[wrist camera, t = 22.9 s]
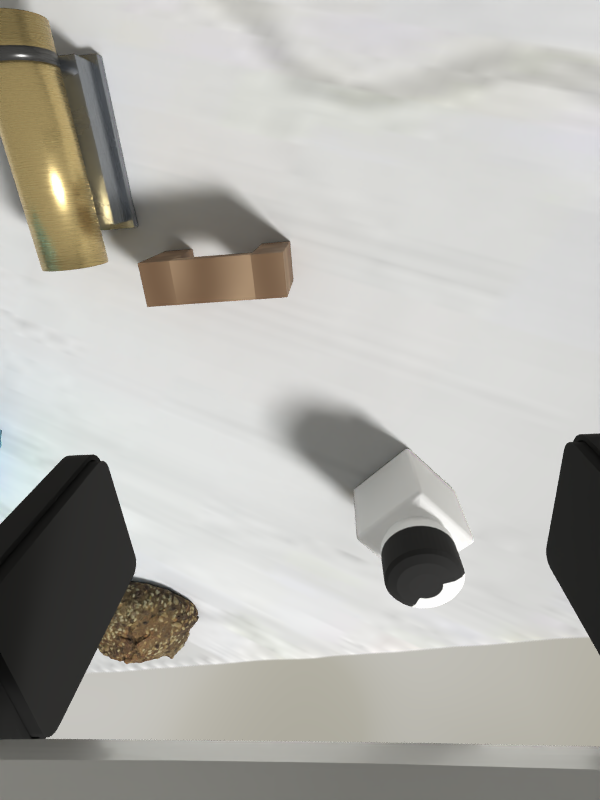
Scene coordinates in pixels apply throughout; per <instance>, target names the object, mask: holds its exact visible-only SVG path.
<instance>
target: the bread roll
mask: <svg viewBox="0 0 600 800" xmlns="http://www.w3.org/2000/svg"><path fill="white" fill-rule="evenodd" d="M197 615H198V611H197V609H196V607H195V605H194V604H193V603H191V602H190V601H188V600H186V599H185V598H183V597H181V596H179V595H176V594H174V593H172V592H171V591H169V590H168V589H164V588H160V587H156V586H153V585H150V584H147V583H140V582H130V583H129V585H128V588H127V590H126V592H125V594H124V596H123V598H122V600H121V602H120V604H119V606H118V608H117V610H116V612H115V614H114V616H113V618H112V620H111V622H110V624H109V626H108V628H107V630H106V632H105V634H104V636H103V638H102V640H101V642H100V644H99V646H98V648H99V650H100V652H101V653H102V654H103V655H105V656H109V657H110V658H111V659H115V660H118V661H124V662H125V663H126V664H128V663H135V662H136V663H142V662H144V661H149V660H152V659H158V658H160V657H162V656H168V657H170V658H171V659H173V657H174V655H175V654H177V652H178V651H179V650H181V648H182V647H183V646H184V644H185V642H186V641H187V639H188V636H189V631H190V629H191V628H192V627H193V625H194V624H195V623H196V622H197V620H198V618H199V617H198V616H197Z"/></svg>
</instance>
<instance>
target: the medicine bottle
mask: <svg viewBox="0 0 600 800" xmlns="http://www.w3.org/2000/svg"><path fill="white" fill-rule="evenodd" d="M354 505H355V518H356V532H357V539H358V540H359V541H360V542H361V543H362V544H363V545H365V546H366V547H367V548H368V549H370V550H371V551H372V552H373V553H375V554H376V555H377V556H378V557H379V558H381V559H382V566H383V574H384V581H385V586H386V588H387V590H388V592H389V593H390V594H391V595H392V596H393V597H394V598H395V599H396V600H398V601H400V602H401V603H403V604H405V605H408V606H411V607H416V608H431V607H436V606H440V605H442V604H445V603H447V602H448V601H450V600H451V599H453V598H454V597H455V596H456V595H457V594H458V592H459V591H460V590H461V588H462V586H463V584H464V580H465V572H464V568H463V565H462V562H461V560H460V557H459V554H458V552H459V551H460V550H462V549H463V548H465V547H466V546H468V545H470V544H471V543H472V542H473V541H474V538H473V536H472V533H471V531H470V528H469V526H468V523H467V521H466V518H465V516H464V513H463V511H462V508H461V506H460V503H459V501H458V498H457V496H456V493H455V491H454V490H453V489H452V488H451V487H450V486H449V485H447V484H446V483H445V482H444V481H443V480H442V479H441V478H440V477H439V476H438V475H437V474H436V473H434V472H433V471H432V470H431V469H430V468H429V467H428V466H427V465H426V464H425V463H424V462H423V461H421V460H420V459H419V458H418V457H417V456H416V455H415V454H414V453H413V452H412V451H411V450H410V449H405V450H404V451H402V452H401V453H400V454H399V455H397V456H396V457H395V458H393V459H392V460H391V461H390V462H388V463H387V464H386V465H385V466H383V467H382V468H381V469H379V470H378V471H377V472H376V473H374V474H373V475H372V476H371V477H369V478H368V479H367V480H365V481H364V482H363V483H362V484H360V485H359V486H358V487H357V488H355V489H354Z"/></svg>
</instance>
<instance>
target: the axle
mask: <svg viewBox="0 0 600 800" xmlns="http://www.w3.org/2000/svg"><path fill="white" fill-rule="evenodd" d="M0 136H1V139H2V142H3V145H4V149H5V152H6V155H7V158H8V161H9V165H10V168H11V171H12V174H13V178H14V181H15V184H16V187H17V190H18V194H19V197H20V200H21V203H22V207H23V210H24V213H25V216H26V220H27V223H28V226H29V229H30V232H31V236H32V239H33V242H34V245H35V249H36V252H37V255H38V258H39V261H40V265H41V268H42V270H43V271H64V270H73V269H80V268H86V267H92V266H96V265H100V264H104V263H107V262H108V258H107V254H106V250H105V246H104V242H103V238H102V234H101V230H100V226H99V222H98V218H97V214H96V210H95V206H94V202H93V198H92V194H91V190H90V186H89V182H88V177H87V173H86V169H85V165H84V161H83V157H82V153H81V149H80V145H79V141H78V137H77V133H76V129H75V125H74V121H73V117H72V113H71V109H70V105H69V101H68V97H67V93H66V89H65V85H64V81H63V77H62V73H61V67H60V63H59V59H58V55H57V53H56V49H55V45H54V41H53V37H52V33H51V29H50V25H49V21H48V20H47V19H46V18H45V17H43V16H41V15H39V14H36V13H33V12H29V11H24V10H18V9H9V8H0Z"/></svg>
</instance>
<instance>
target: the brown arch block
mask: <svg viewBox="0 0 600 800" xmlns="http://www.w3.org/2000/svg"><path fill="white" fill-rule="evenodd" d="M138 267H139V271H140V276H141V280H142V285H143V289H144V294H145V298H146V303H147V307H152V306H166V305H181V304H195V303H210V302H224V301H238V300H253V299H267V298H282V297H287V296H288V294H289V291H290V288H291V285H292V282H293V271H292V260H291V248H290V241H288V242H275V243H263V244H261V245H260V246H259V247H258V248H257V249H256V250H255V251H254V252H253V253H241V254H228V255H215V256H202V257H194V255H193V250H192V249H188V250H175V251H165V252H163V253H160V254H158V255H156V256H154V257H151V258H149V259H147V260H144V261H142V262H140V263H138Z"/></svg>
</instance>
